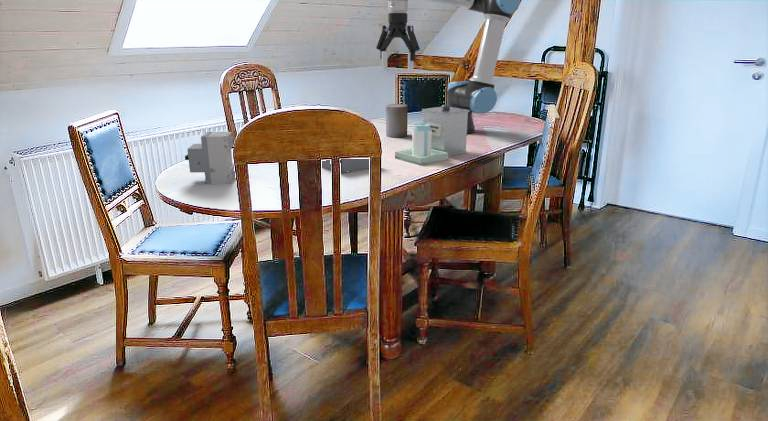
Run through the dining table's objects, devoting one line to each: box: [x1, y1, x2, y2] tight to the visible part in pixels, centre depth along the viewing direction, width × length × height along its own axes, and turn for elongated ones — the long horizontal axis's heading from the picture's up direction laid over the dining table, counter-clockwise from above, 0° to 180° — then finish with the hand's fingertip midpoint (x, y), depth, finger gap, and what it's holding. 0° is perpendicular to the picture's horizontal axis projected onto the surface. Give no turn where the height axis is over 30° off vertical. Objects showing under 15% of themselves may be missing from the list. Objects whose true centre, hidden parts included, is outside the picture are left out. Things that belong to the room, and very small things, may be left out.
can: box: [411, 122, 432, 157], centre depth 201 cm, size 7×7×12 cm
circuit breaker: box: [184, 131, 236, 185], centre depth 171 cm, size 8×14×15 cm, turn 95°
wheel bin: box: [321, 159, 370, 174], centre depth 191 cm, size 16×14×6 cm
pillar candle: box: [385, 103, 408, 138], centre depth 243 cm, size 10×10×15 cm
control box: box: [421, 104, 470, 158], centre depth 210 cm, size 13×13×18 cm
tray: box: [394, 148, 449, 166], centre depth 202 cm, size 14×14×2 cm
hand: (397, 68), depth 218 cm, fingers open, 13 cm apart
